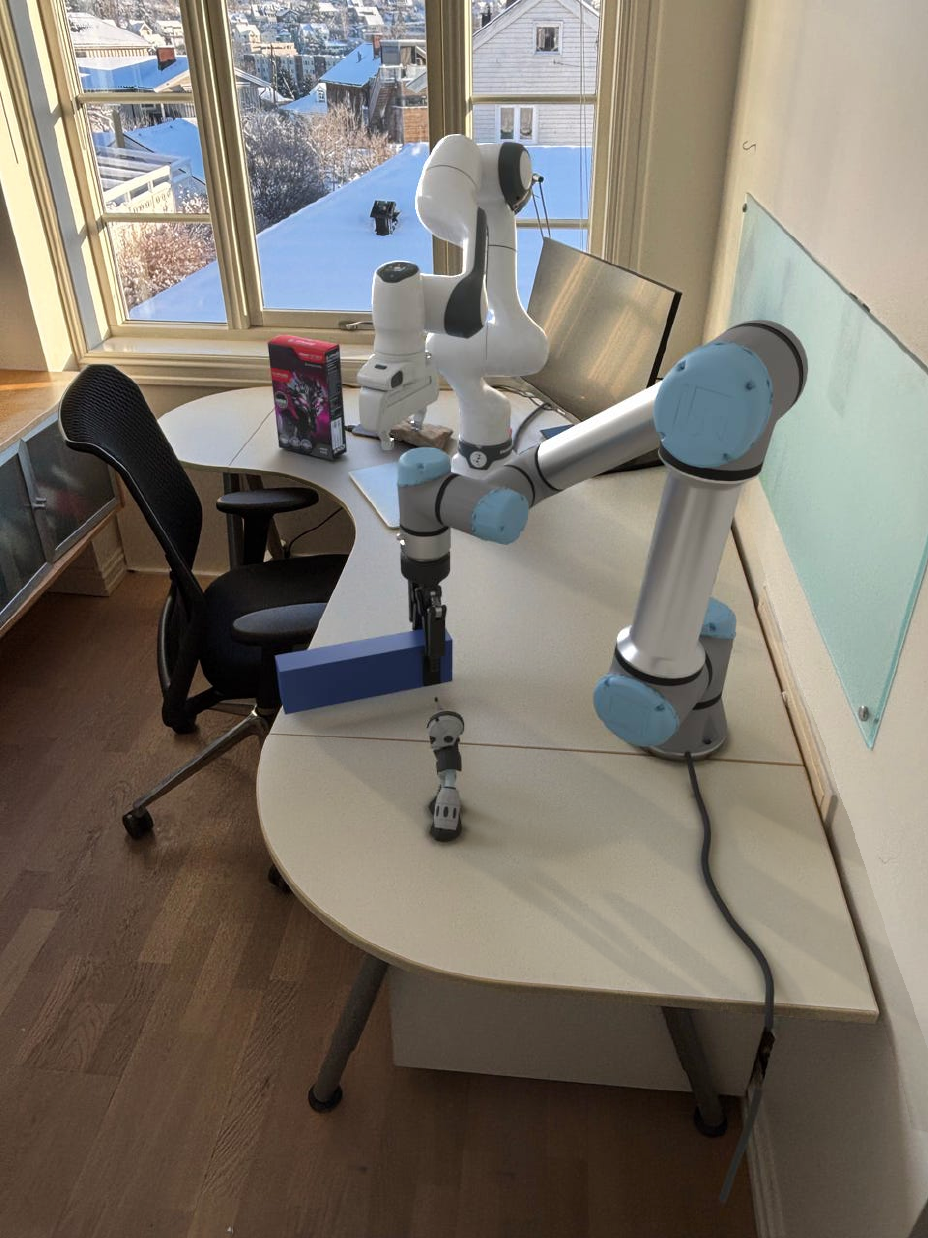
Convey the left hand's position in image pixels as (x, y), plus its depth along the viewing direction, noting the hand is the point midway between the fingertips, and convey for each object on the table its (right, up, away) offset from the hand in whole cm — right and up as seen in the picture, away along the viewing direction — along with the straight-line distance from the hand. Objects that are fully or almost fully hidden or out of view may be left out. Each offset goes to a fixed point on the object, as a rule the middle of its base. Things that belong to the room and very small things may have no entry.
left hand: (402, 439), depth 166 cm
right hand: (+5, -41, -15) cm, 44 cm away
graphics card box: (-27, +10, +65) cm, 71 cm away
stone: (-3, +14, +71) cm, 72 cm away
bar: (-4, -44, -17) cm, 47 cm away
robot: (+9, -60, -39) cm, 72 cm away
